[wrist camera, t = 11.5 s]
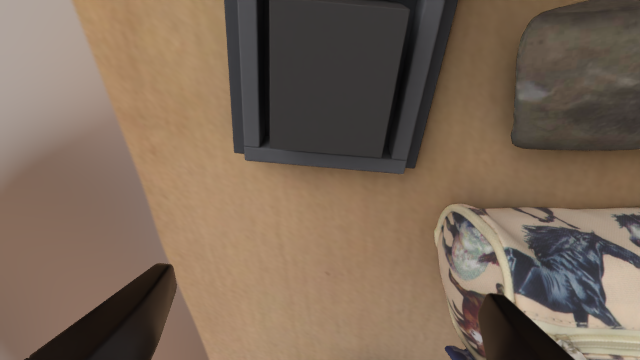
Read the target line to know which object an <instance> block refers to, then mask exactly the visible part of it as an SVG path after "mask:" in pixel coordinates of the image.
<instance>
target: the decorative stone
mask: <svg viewBox="0 0 640 360" xmlns="http://www.w3.org/2000/svg"><path fill="white" fill-rule="evenodd" d="M514 107H515V110H514V124H513V130H512V132H511V139H512V144H514V145H515V146H517V147H521V148H525V149H544V150H578V151H594V150H608V151H611V150H631V149H640V0H588V1H584V2H580V3H576V4H572V5H568V6H564V7H559V8H555V9H552V10H549V11H545V12H543V13H541V14H539V15H538V16H536V17H534V18H533V19H532V20H531V21H530V23H529V24H528V26H527V28H526V29H525V31H524V33H523V35H522V37H521V40H520V45H519V49H518V54H517V63H516V86H515V101H514Z"/></svg>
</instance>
